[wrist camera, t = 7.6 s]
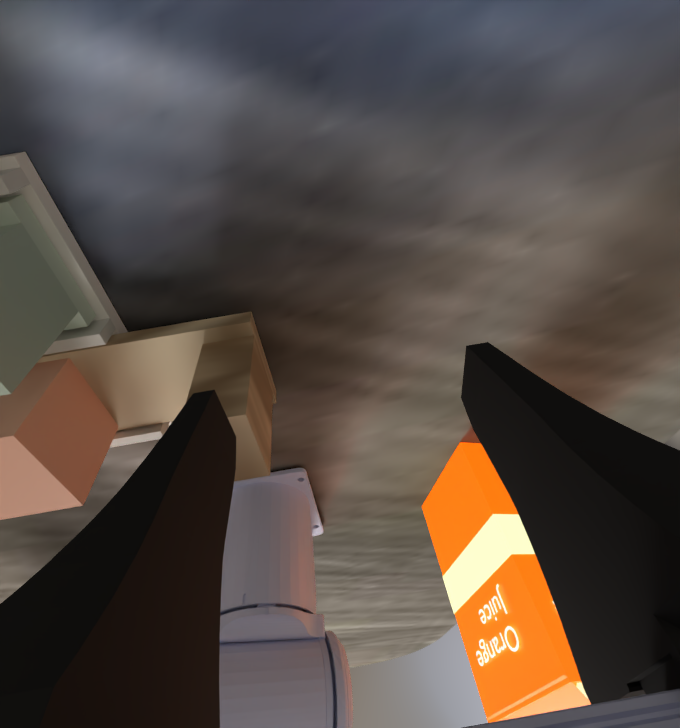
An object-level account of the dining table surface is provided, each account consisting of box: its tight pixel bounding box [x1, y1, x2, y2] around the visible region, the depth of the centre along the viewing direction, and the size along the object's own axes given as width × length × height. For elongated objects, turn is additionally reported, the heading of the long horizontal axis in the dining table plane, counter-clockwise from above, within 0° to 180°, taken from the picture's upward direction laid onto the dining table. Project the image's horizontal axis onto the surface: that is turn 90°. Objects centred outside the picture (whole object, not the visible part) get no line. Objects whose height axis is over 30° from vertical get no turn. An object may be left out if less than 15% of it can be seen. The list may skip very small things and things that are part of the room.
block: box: [0, 358, 119, 520], centre depth 18 cm, size 5×5×5 cm
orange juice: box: [422, 442, 591, 723], centre depth 25 cm, size 8×9×20 cm
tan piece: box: [37, 312, 276, 481], centre depth 19 cm, size 14×6×6 cm, turn 97°
